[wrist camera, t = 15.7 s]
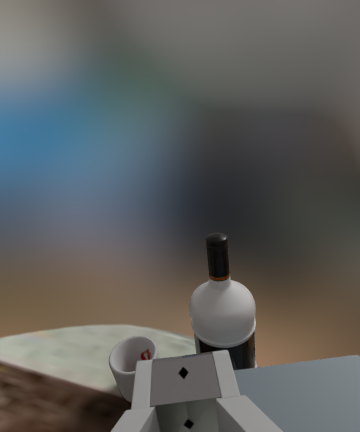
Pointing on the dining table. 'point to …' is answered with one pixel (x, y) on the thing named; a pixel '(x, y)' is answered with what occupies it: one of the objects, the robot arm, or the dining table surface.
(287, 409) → the console
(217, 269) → the vodka
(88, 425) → the dining table surface
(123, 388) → the cup
